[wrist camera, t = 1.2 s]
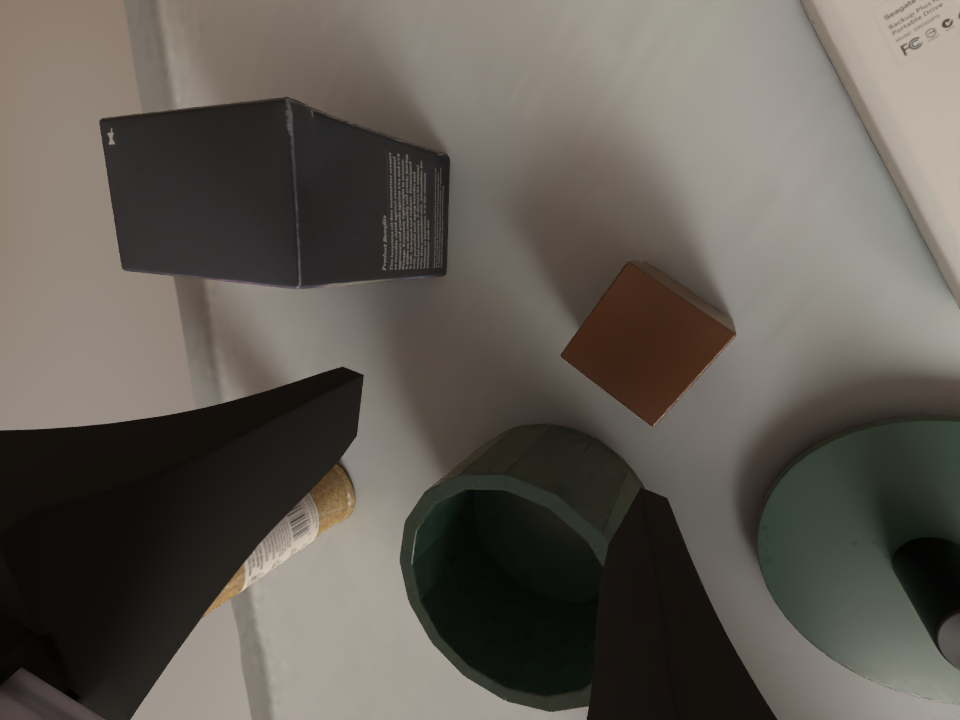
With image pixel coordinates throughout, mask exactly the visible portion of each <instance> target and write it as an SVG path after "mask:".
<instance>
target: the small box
mask: <svg viewBox="0 0 960 720" xmlns="http://www.w3.org/2000/svg"><path fill="white" fill-rule="evenodd" d="M99 122H100V130H101V135H102V143H103V148H104V155H105V162H106V168H107V175H108V182H109V188H110V195H111V202H112V208H113V214H114V221H115V226H116V234H117V240H118V246H119V253H120V259H121V265H122V269H123V270H126V271H132V272H142V273H152V274H161V275H171V276H180V277H190V278H200V279H209V280H218V281H227V282H236V283H245V284H254V285H263V286H271V287H280V288H290V289H306V288H320V287H335V286H346V285H356V284H366V283H378V282H389V281H400V280H411V279H420V278H430V277H439V276H444V275H445V274H446V263H447V234H448V203H449V167H450V160H449V156H448V155H447V154H446V153H442V152H438V151H435V150H432V149H428V148H425V147H421V146H418V145H415V144H412V143H408V142H406V141H403V140H400V139H397V138H394V137H391V136H388V135H385V134H382V133H379V132H376V131H373V130H371V129H368V128H364V127H361V126H358V125H356V124H352V123H350V122H348V121H344V120H342V119H339V118H336V117H334V116H331V115H328V114H327V113H324V112H322V111H320V110H317V109H314V108H312V107H309V106H307V105H306V104H304V103H301V102H299V101H297V100H294V99H291V98H289V97H284V98H276V99H266V100H258V101H249V102H239V103H231V104H221V105H213V106H204V107H194V108H186V109H177V110H168V111H163V112H151V113H143V114H133V115H125V116H119V117H109V118H102V119H101V120H100V121H99Z"/></svg>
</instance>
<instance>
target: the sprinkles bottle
mask: <svg viewBox="0 0 960 720" xmlns="http://www.w3.org/2000/svg"><path fill="white" fill-rule="evenodd" d="M354 501H355V495H354V490H353V487H352V484H351V481H350V479H349V478H348V476H347V474H346V473H345V471H344V470H343V469H342V468H341V467H340V466H339V465H337V464H335V466H334V467H333V468H332V469H331V470H330V471H329V472H328V473H327V474H326V475H325V476H324V477H323V478H322V479H321V480H320V482H319V483H318V484H317V485H316V486H315V487H314V488H313V489H312V490H311V491H310V492H309V493H308V494H307V495H306V496H305V497H304V498H303V499H302V500H301V501H300V502H299V503H298V504H297V505H296V506H295V507H294V508H293V509H292V510H291V511H290V512H289V513H288V514H287V515H286V516H285V517H284V518H283V519H282V520H281V521H280V522H279V523H278V524H277V525H276V526H275V527H274V528H273V529H272V531H271V532H270V533H269V534H268V535H267V536H266V537H265V538H264V539H263V541H262V542H261V543H260V544H259V545H258V546H257V548H256V549H255V550H254V551H253V552H252V554H251V555H250V556H249V557H248V559H247V560H246V561H245V562H244V564H243V565H242V566H241V567H240V569H239V570H238V571H237V572H236V574H235V575H234V576H233V577H232V579H231V580H230V581H229V582H228V584H227V585H226V586H225V588H224V589H223V590H222V592H221V593H220V594H219V596H218V597H217V598H216V599H215V601H214V602H213V603H212V605H211V606H210V607H209V609H208V610H207V611H206V612H205V614H204V615H203V616H202V618H203V617H204V616H205V615H207V614H208V613H210V612H211V611H212V610H214V609H215V608H217V607H218V606H220V605H221V604H222V603H224V602H225V601H227V600H228V599H230V598H231V597H233V596H234V595H237V594H238V593H240V592H241V591H243V590H244V589H246V588H247V587H248V586H250V585H251V584H253V583H254V582H256V581H257V580H258V579H260V578H261V577H263V576H264V575H265V574H267V573H268V572H270V571H271V570H273V569H274V568H276V567H277V566H278V565H280V564H281V563H283V562H284V561H285V560H287V559H288V558H290V557H291V556H293V555H294V554H295V553H297V552H298V551H300V550H301V549H302V548H304V547H305V546H307V545H308V544H309V543H311V542H312V541H313V540H314V539H315V538H316V537H318V536H319V535H320V534H322V533H323V532H324V531H326V530H327V529H329V528H330V527H332V526H333V525H335V524H336V523H338V522H341V521H343V520H345V519H346V518H348V517H349V515H350V514H351V512H352V509H353V507H354Z"/></svg>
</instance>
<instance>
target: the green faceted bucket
mask: <svg viewBox="0 0 960 720" xmlns="http://www.w3.org/2000/svg"><path fill="white" fill-rule="evenodd" d="M640 488H643V489H645V488H644V486H643V484H642V483H641V481H640V480H639V478H638V477H637V476H636V474H635V473H634V471H633V470H632V469H631V468H630V467H629V466H628V464H627V463H626V462H625V461H624V460H623V459H622V458H621V457H620V456H618V455H617V454H616V453H615V452H614V451H613V450H612V449H610V448H609V447H607V446H606V445H604V444H603V443H602V442H600V441H598V440H596V439H595V438H593V437H591V436H589V435H587V434H585V433H582V432H580V431H577V430H575V429H571V428H567V427H564V426H558V425H551V424H532V425H524V426H520V427H517V428H513V429H511V430H508V431H506V432H504V433H502V434H500V435H499V436H497V437H496V438H494V439H493V440H491V441H489V442H487V443H485V444H484V445H483V446H481V447H480V448H479V449H478V450H476V451H475V452H474V453H473V454H471V455H470V456H469V457H468V458H466V459H465V460H464V461H463V462H461V463H460V464H459V465H458V466H456V467H455V468H454V469H453V470H452V471H450V472H449V473H448V474H447V475H445V476H444V477H443V478H442V479H440V480H439V481H438V482H437V483H435V484H434V485H433V486H432V487H430V488H429V489H428V490H427V491H426V492H424V494H423V495H422V497H421V498H420V500H419V501H418V503H417V504H416V506H415V507H414V509H413V510H412V512H411V513H410V515H409V516H408V518H407V519H406V521H405V525H404V532H403V539H402V546H401V553H400V565H401V569H402V574H403V578H404V582H405V587H406V591H407V596H408V600H409V603H410V605H411V607H412V608H413V610H414V612H415V614H416V615H417V617H418V619H419V621H420V623H421V624H422V626H423V628H424V630H425V632H426V633H427V635H428V637H429V639H430V640H431V641H432V643H433V644H434V645H435V646H436V647H437V648H438V650H439V651H440V652H441V653H442V654H443V655H444V656H445V657H446V658H447V659H448V660H449V661H450V662H451V663H452V664H453V665H454V666H455V667H456V668H457V669H458V670H459V671H460V672H461V673H462V674H463V675H464V676H465V677H467V678H468V679H470V680H472V681H473V682H475V683H477V684H478V685H480V686H482V687H483V688H485V689H487V690H488V691H490V692H492V693H493V694H495V695H497V696H498V697H500V698H502V699H503V700H506V701H508V702H512V703H516V704H520V705H524V706H528V707H532V708H536V709H540V710H544V711H549V712H551V711H552V712H555V711H561V710H568V709H574V708H580V707H587V706H589V703H590V695H591V686H592V674H593V662H594V650H595V637H596V625H597V613H598V602H599V591H600V583H601V578H602V573H603V568H604V563H605V559H606V554H607V550H608V545H609V543H610V541H611V540H612V538H613V536H614V534H615V532H616V531H617V529H618V527H619V525H620V523H621V522H622V520H623V518H624V516H625V515H626V513H627V511H628V509H629V507H630V506H631V504H632V502H633V500H634V498H635V497H636V495H637V493H638V491H639V489H640Z"/></svg>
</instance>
